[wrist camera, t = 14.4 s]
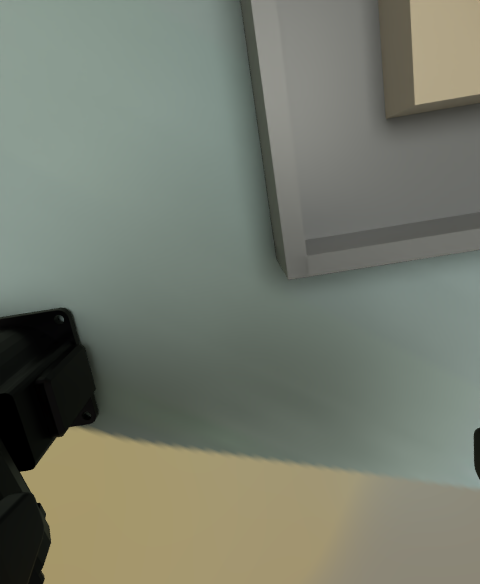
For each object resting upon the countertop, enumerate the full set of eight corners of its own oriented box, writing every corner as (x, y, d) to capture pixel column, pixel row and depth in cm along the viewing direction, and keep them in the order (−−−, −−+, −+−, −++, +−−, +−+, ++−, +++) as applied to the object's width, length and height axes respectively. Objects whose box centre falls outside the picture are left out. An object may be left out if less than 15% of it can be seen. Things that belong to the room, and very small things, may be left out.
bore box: (276, 257, 20) (288, 279, 15) (221, -132, 16) (214, -268, 11) (602, 205, 20) (722, 211, 15) (628, -211, 16) (803, -390, 11)
